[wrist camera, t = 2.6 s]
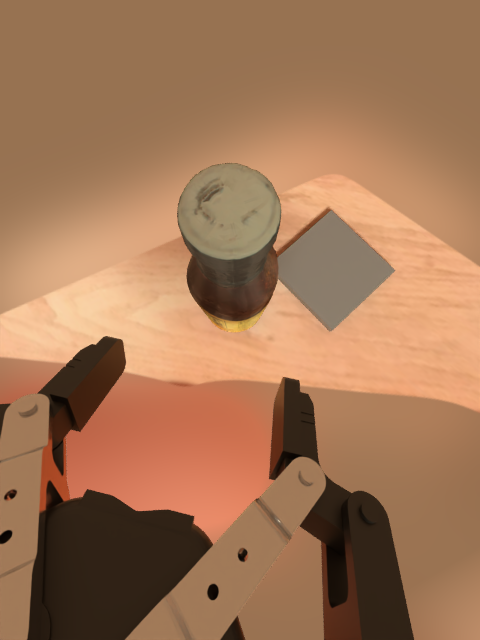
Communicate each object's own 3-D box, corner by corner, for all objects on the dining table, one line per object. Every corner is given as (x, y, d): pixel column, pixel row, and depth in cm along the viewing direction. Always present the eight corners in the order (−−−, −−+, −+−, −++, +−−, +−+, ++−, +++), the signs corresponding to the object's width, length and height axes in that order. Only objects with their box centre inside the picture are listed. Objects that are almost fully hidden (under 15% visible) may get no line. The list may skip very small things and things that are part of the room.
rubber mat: (390, 273, 30) (395, 270, 29) (329, 331, 29) (332, 330, 28) (328, 214, 31) (331, 210, 30) (267, 268, 30) (268, 264, 29)
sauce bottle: (201, 288, 30) (125, 142, 10) (254, 274, 30) (278, 106, 10) (215, 343, 29) (160, 298, 9) (269, 328, 29) (329, 255, 9)
